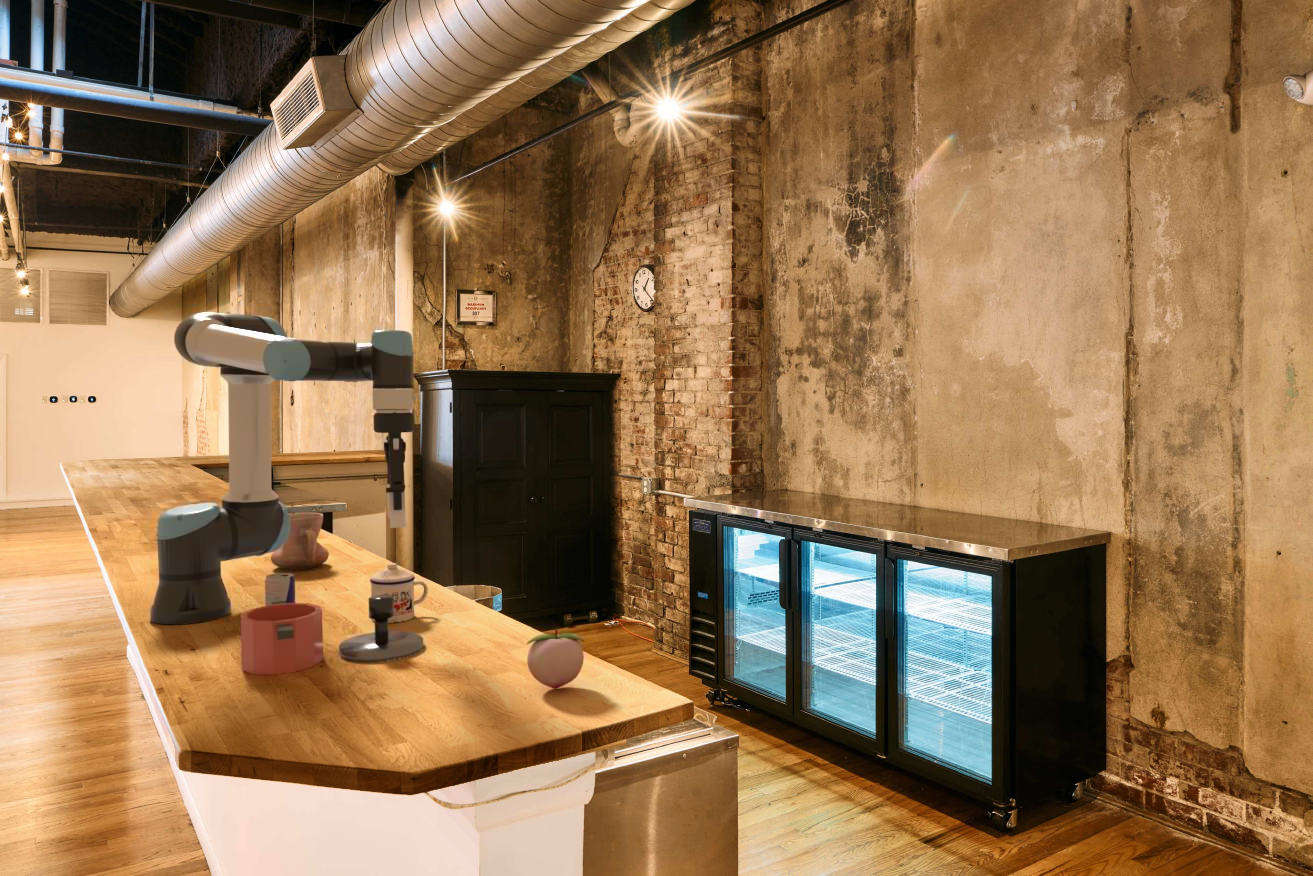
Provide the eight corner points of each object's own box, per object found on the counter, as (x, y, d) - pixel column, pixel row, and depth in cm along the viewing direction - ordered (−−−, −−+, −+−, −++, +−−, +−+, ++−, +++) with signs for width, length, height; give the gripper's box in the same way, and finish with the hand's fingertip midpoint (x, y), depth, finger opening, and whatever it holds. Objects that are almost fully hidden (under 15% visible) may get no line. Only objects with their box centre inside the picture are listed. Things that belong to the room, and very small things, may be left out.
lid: (321, 658, 154) (320, 604, 154) (373, 635, 168) (372, 585, 168) (391, 667, 149) (390, 611, 149) (439, 642, 164) (438, 591, 163)
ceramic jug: (263, 565, 233) (261, 514, 232) (317, 559, 242) (316, 509, 241) (282, 577, 219) (281, 522, 218) (339, 569, 228) (338, 517, 227)
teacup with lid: (376, 626, 174) (375, 570, 173) (365, 616, 182) (364, 562, 181) (434, 618, 180) (433, 563, 180) (421, 608, 188) (420, 556, 187)
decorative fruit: (535, 702, 132) (535, 639, 132) (522, 685, 140) (522, 625, 139) (593, 694, 136) (592, 632, 135) (576, 677, 144) (576, 619, 143)
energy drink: (302, 633, 169) (300, 573, 168) (282, 640, 164) (280, 579, 163) (280, 630, 171) (279, 571, 170) (260, 638, 166) (258, 577, 165)
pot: (328, 674, 145) (327, 622, 144) (243, 686, 139) (241, 632, 138) (316, 641, 164) (315, 595, 163) (241, 650, 158) (239, 602, 157)
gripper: (418, 412, 152) (420, 530, 153) (410, 410, 176) (413, 512, 177) (374, 413, 150) (377, 533, 151) (372, 410, 173) (375, 514, 174)
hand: (396, 522), depth 164 cm, fingers open, 13 cm apart
